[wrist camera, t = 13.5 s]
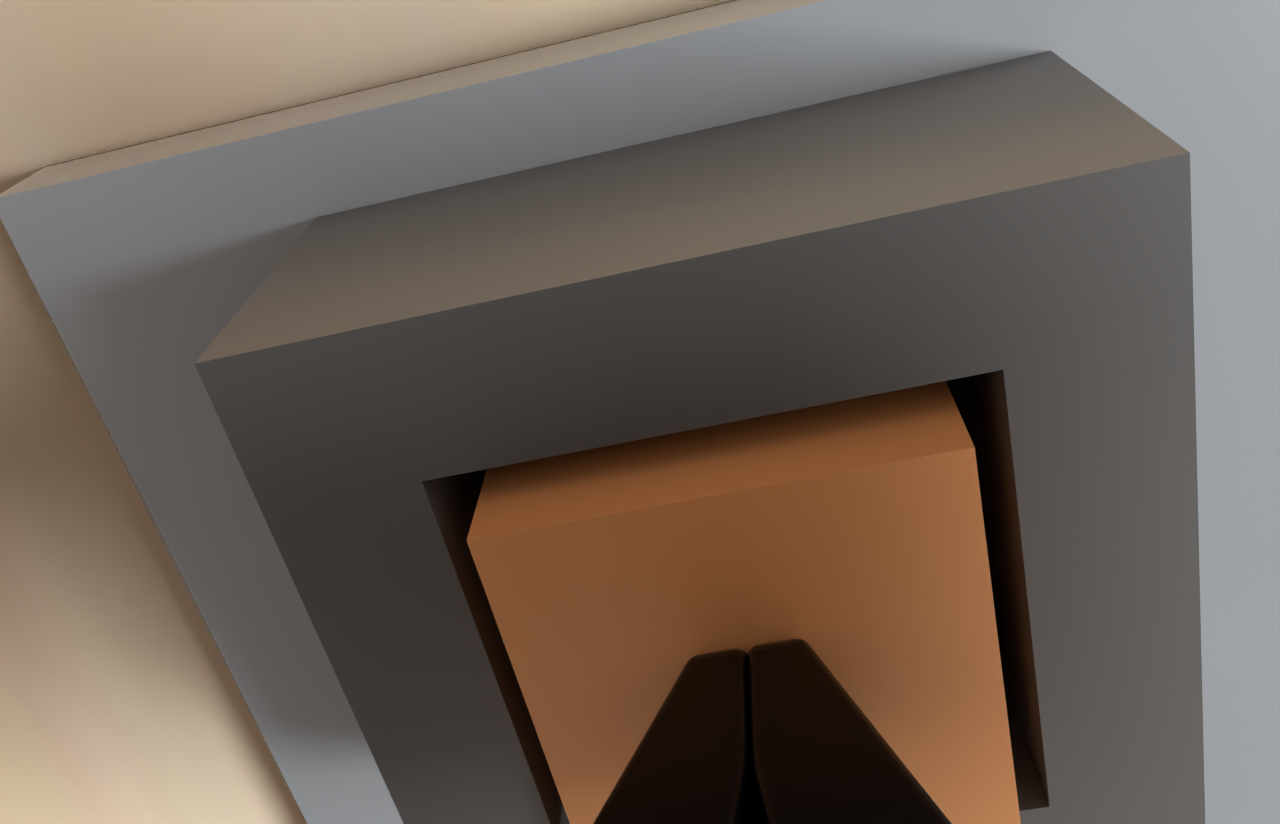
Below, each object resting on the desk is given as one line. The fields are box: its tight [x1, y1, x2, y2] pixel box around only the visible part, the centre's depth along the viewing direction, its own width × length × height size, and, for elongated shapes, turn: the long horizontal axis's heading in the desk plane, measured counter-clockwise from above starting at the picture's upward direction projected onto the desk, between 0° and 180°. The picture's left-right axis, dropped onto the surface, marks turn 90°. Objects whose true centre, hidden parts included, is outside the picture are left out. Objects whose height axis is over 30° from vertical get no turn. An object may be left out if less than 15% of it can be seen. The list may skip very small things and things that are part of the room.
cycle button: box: [467, 381, 1021, 824], centre depth 10 cm, size 3×3×3 cm
